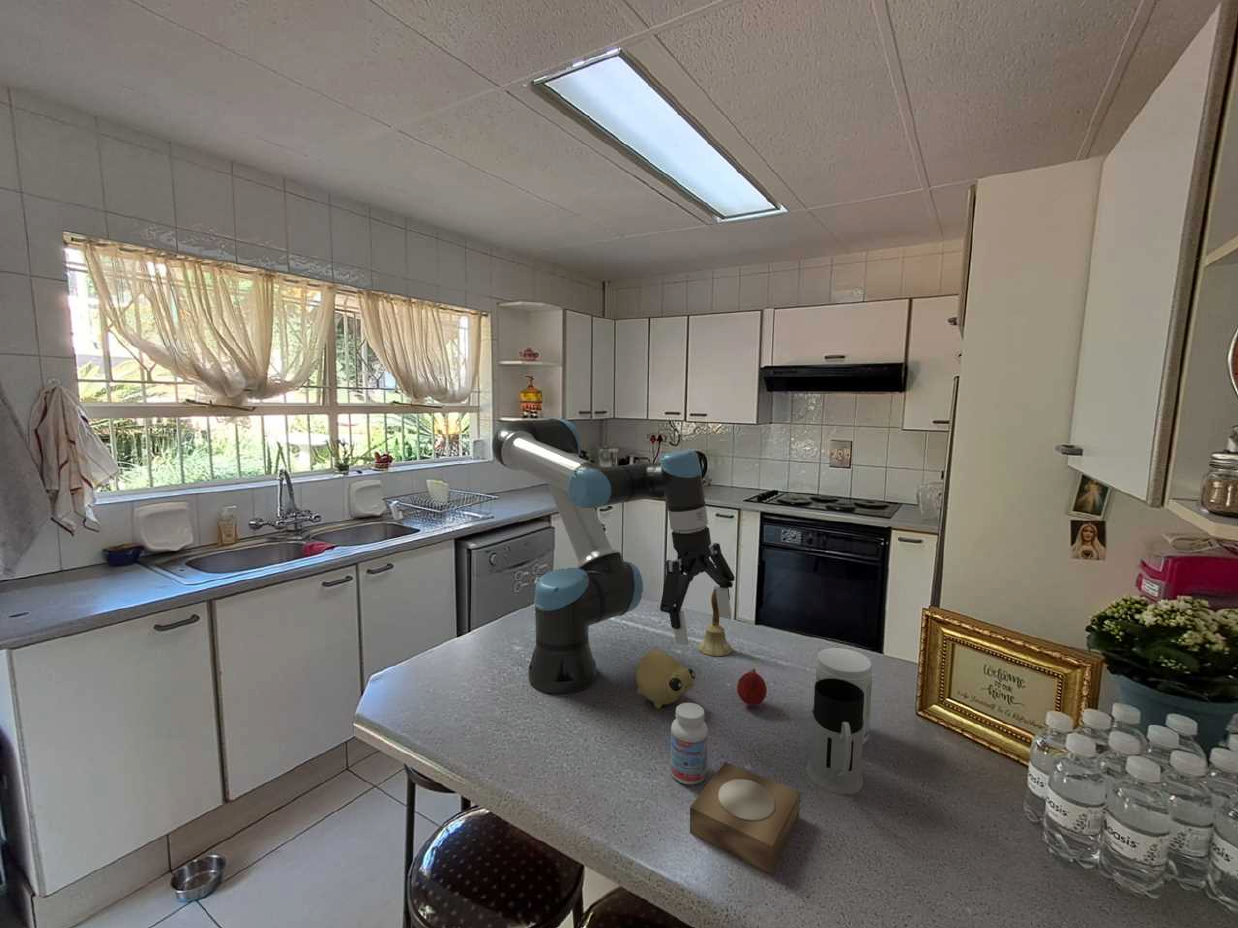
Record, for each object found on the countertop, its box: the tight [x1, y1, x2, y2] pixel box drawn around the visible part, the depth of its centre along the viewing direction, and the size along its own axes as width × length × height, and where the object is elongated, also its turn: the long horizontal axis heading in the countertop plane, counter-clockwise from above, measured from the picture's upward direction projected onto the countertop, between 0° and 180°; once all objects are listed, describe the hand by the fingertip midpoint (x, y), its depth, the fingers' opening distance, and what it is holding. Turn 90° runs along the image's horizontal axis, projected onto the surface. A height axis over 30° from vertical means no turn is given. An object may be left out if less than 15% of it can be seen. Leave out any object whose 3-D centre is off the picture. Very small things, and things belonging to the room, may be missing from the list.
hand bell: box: [697, 585, 733, 657], centre depth 135 cm, size 8×8×16 cm
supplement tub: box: [815, 647, 873, 745], centre depth 101 cm, size 10×10×15 cm
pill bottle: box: [669, 702, 709, 785], centre depth 90 cm, size 6×6×11 cm
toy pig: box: [635, 648, 696, 710], centre depth 111 cm, size 10×12×11 cm
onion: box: [736, 667, 768, 708], centre depth 110 cm, size 6×6×8 cm
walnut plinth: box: [689, 761, 801, 875], centre depth 80 cm, size 12×12×4 cm
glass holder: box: [806, 678, 864, 795], centre depth 87 cm, size 9×14×15 cm, turn 167°
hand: (704, 629), depth 111 cm, fingers open, 13 cm apart
